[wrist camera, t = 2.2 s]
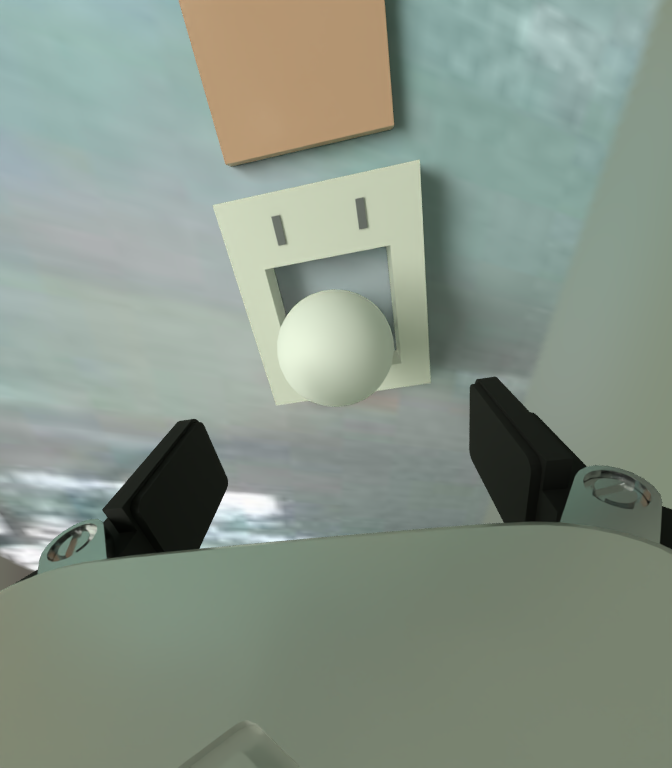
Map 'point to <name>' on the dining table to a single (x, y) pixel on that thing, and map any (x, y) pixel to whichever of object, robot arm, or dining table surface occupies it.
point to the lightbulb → (335, 348)
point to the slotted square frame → (331, 238)
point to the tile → (291, 72)
